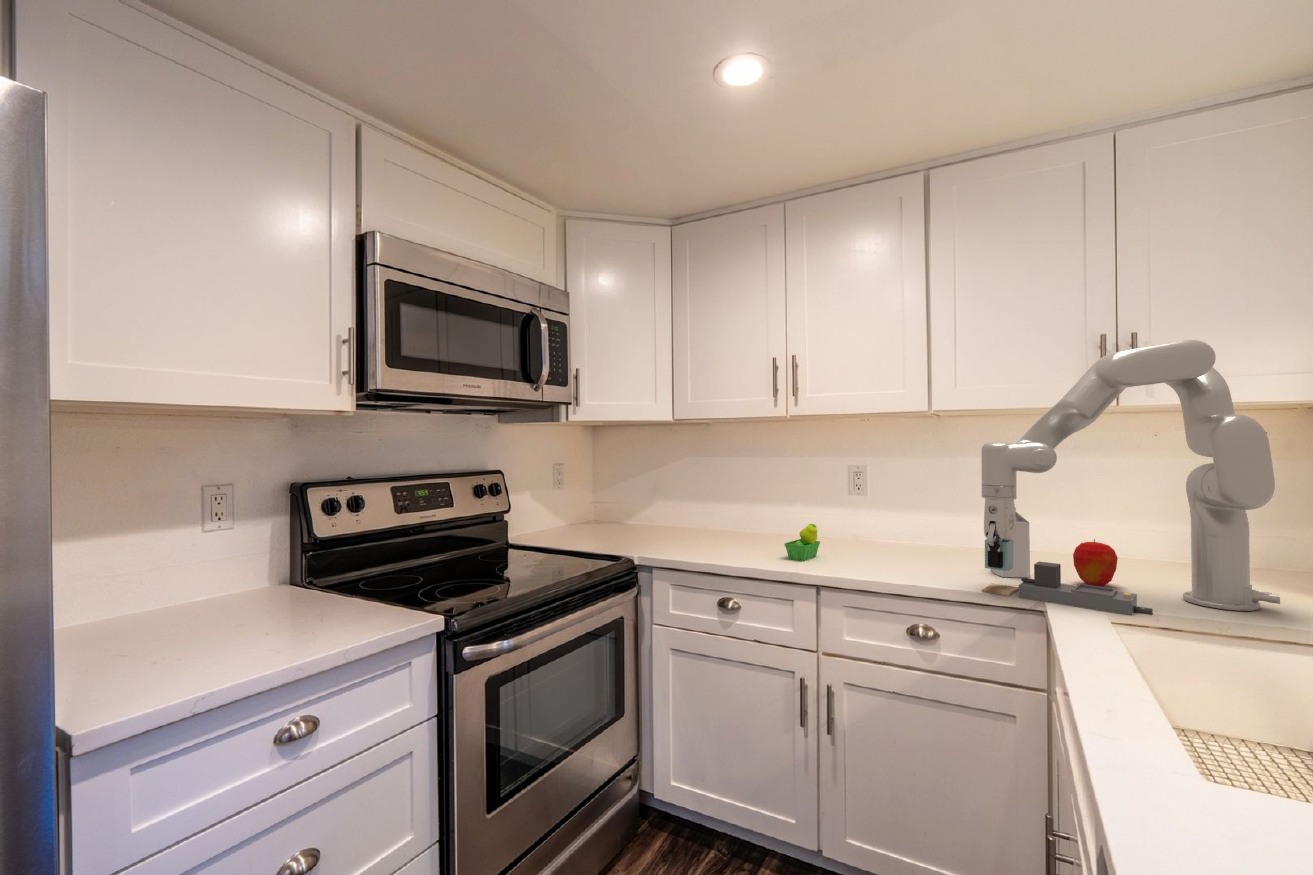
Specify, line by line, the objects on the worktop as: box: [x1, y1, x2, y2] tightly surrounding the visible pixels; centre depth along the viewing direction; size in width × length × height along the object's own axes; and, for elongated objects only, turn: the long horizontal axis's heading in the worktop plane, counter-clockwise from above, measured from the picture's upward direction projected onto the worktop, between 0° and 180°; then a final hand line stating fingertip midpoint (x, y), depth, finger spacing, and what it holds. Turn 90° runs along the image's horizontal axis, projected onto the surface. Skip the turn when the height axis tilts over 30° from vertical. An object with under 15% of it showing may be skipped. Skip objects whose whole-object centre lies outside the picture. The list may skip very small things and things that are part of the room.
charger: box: [984, 538, 1013, 571], centre depth 147 cm, size 5×5×7 cm
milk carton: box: [990, 507, 1031, 578], centre depth 163 cm, size 7×7×19 cm
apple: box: [1072, 538, 1119, 587], centre depth 150 cm, size 9×9×12 cm
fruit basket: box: [783, 523, 821, 562], centre depth 189 cm, size 11×9×11 cm
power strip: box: [1018, 561, 1154, 616], centre depth 135 cm, size 24×8×8 cm, turn 45°
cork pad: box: [981, 583, 1019, 597], centre depth 147 cm, size 6×8×1 cm
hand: (998, 564), depth 147 cm, fingers closed on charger, 5 cm apart
